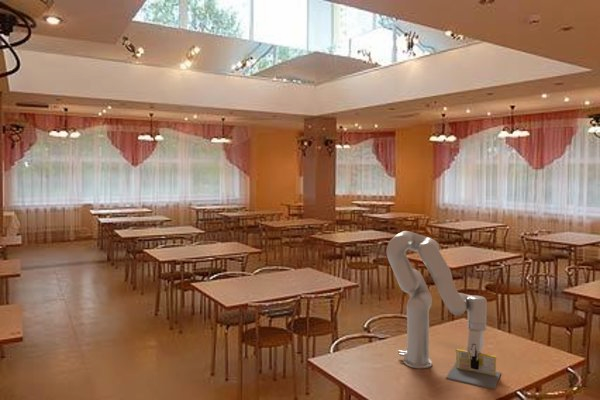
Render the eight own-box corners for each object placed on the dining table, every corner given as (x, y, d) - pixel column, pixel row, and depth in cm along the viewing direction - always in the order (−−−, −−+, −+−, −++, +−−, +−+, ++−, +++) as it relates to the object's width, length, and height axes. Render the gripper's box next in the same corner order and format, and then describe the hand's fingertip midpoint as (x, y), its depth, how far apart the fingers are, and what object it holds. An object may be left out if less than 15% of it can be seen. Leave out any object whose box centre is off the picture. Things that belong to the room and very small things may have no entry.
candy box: (495, 374, 198) (496, 355, 197) (495, 376, 196) (495, 357, 195) (456, 366, 206) (457, 348, 206) (455, 368, 204) (455, 349, 204)
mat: (445, 378, 195) (445, 377, 195) (455, 364, 210) (455, 363, 210) (494, 389, 185) (494, 388, 185) (500, 374, 200) (500, 372, 200)
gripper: (471, 318, 209) (470, 358, 210) (463, 329, 195) (462, 371, 196) (489, 321, 205) (488, 362, 206) (482, 332, 191) (481, 376, 192)
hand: (475, 366), depth 201 cm, fingers open, 3 cm apart
